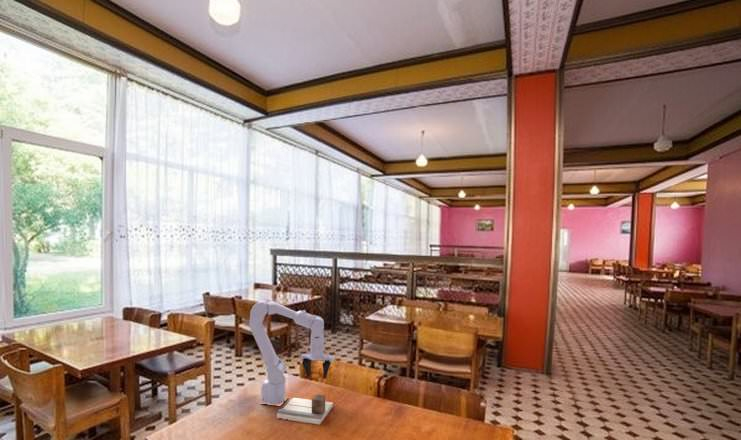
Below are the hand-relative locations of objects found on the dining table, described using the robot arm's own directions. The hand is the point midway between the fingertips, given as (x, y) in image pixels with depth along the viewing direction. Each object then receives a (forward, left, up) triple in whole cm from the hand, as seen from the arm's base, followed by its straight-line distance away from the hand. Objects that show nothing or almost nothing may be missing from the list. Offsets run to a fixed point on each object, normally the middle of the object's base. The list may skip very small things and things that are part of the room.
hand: (316, 377), depth 145 cm
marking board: (0, -11, -9) cm, 14 cm away
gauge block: (+7, -13, -8) cm, 17 cm away
